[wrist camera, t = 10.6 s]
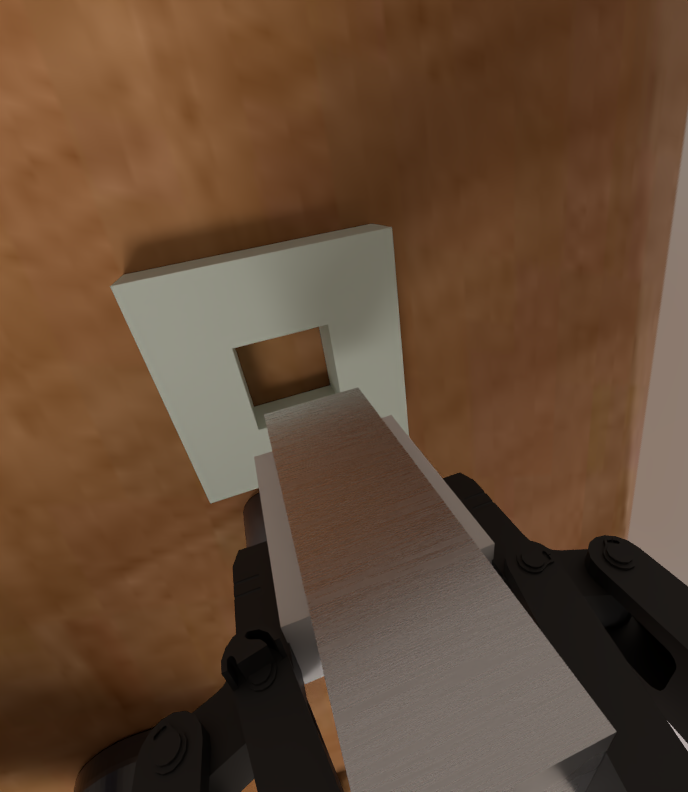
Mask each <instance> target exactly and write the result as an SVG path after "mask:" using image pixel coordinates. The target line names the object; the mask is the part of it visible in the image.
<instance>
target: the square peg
mask: <svg viewBox="0 0 688 792" xmlns="http://www.w3.org/2000/svg"><path fill="white" fill-rule="evenodd" d="M264 417H265V421H266V426H267V430H268V434H269V439H270V443H271V447H272V452H273V456H274V460H275V465H276V469H277V473H278V478H279V482H280V486H281V491H282V495H283V499H284V504H285V508H286V512H287V517H288V521H289V525H290V530H291V534H292V538H293V543H294V547H295V551H296V556H297V560H298V564H299V569H300V573H301V577H302V582H303V586H304V590H305V595H306V599H307V603H308V608H309V612H310V616H311V621H312V625H313V629H314V634H315V638H316V642H317V647H318V651H319V655H320V660H321V664H322V668H323V673H324V677H325V681H326V686H327V690H328V694H329V699H330V703H331V707H332V712H333V716H334V720H335V725H336V729H337V733H338V738H339V742H340V746H341V751H342V755H343V759H344V764H345V768H346V772H347V777H348V781H349V785H350V790H351V792H585V791H586V789H587V787H588V785H589V783H590V782H591V780H592V778H593V776H594V774H595V772H596V770H597V768H598V766H599V764H600V763H601V761H602V759H603V757H604V755H605V753H606V751H607V749H608V747H609V745H610V744H611V742H612V740H613V738H614V736H615V734H616V730H615V729H614V728H613V726H612V725H611V724H610V722H609V721H608V720H607V718H606V717H605V716H604V714H603V713H602V712H601V710H600V709H599V708H598V706H597V705H596V704H595V702H594V701H593V700H592V698H591V697H590V696H589V694H588V693H587V692H586V690H585V689H584V688H583V686H582V685H581V684H580V682H579V681H578V680H577V678H576V677H575V676H574V674H573V673H572V672H571V670H570V669H569V668H568V666H567V665H566V664H565V662H564V661H563V660H562V658H561V657H560V656H559V654H558V653H557V652H556V650H555V649H554V648H553V646H552V645H551V644H550V642H549V641H548V640H547V638H546V637H545V636H544V634H543V633H542V632H541V630H540V629H539V628H538V626H537V625H536V624H535V622H534V621H533V620H532V618H531V617H530V616H529V614H528V613H527V612H526V610H525V609H524V608H523V606H522V605H521V604H520V602H519V601H518V600H517V598H516V597H515V596H514V594H513V593H512V592H511V590H510V589H509V588H508V586H507V585H506V584H505V582H504V581H503V580H502V578H501V577H500V576H499V574H498V573H497V572H496V570H495V569H494V568H493V566H492V565H491V564H490V562H489V561H488V560H487V558H486V557H485V556H484V554H483V553H482V552H481V550H480V549H479V548H478V546H477V545H476V544H475V542H474V541H473V540H472V538H471V537H470V536H469V534H468V533H467V532H466V530H465V529H464V528H463V526H462V525H461V524H460V522H459V521H458V520H457V518H456V517H455V516H454V514H453V513H452V512H451V510H450V509H449V508H448V506H447V505H446V504H445V502H444V501H443V500H442V498H441V497H440V496H439V494H438V493H437V492H436V490H435V489H434V488H433V486H432V485H431V484H430V482H429V481H428V480H427V478H426V477H425V476H424V474H423V473H422V472H421V470H420V469H419V468H418V466H417V465H416V464H415V462H414V461H413V460H412V458H411V457H410V456H409V454H408V453H407V452H406V450H405V449H404V448H403V446H402V445H401V444H400V442H399V441H398V440H397V438H396V437H395V436H394V434H393V433H392V432H391V430H390V429H389V428H388V426H387V425H386V424H385V422H384V421H383V420H382V418H381V417H380V416H379V414H378V413H377V412H376V410H375V409H374V408H373V406H372V405H371V404H370V402H369V401H368V400H367V398H366V397H365V396H364V394H363V393H362V392H361V390H360V389H359V388H358V387H357V388H354V389H350V390H347V391H343V392H340V393H336V394H333V395H329V396H326V397H323V398H319V399H316V400H312V401H309V402H305V403H302V404H298V405H295V406H291V407H288V408H284V409H281V410H277V411H274V412H270V413H267V414H264Z"/></svg>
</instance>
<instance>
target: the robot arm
mask: <svg viewBox="0 0 688 792" xmlns="http://www.w3.org/2000/svg"><path fill="white" fill-rule="evenodd" d="M382 420H383V421H384V422H385V424H386V425H387V426H388V428H389V429H390V430H391V432H392V433H393V434H394V436H395V437H396V438H397V440H398V441H399V442H400V444H401V445H402V446H403V448H404V449H405V450H406V452H407V453H408V454H409V456H410V457H411V458H412V460H413V461H414V462H415V464H416V465H417V466H418V468H419V469H420V470H421V472H422V473H423V474H424V476H425V477H426V478H427V480H428V481H429V482H430V484H431V485H432V486H433V488H434V489H435V490H436V492H437V493H438V494H439V496H440V497H441V498H442V500H443V501H444V502H445V504H446V505H447V506H448V508H449V509H450V510H451V512H452V513H453V514H454V516H455V517H456V518H457V520H458V521H459V522H460V524H461V525H462V526H463V528H464V529H465V530H466V532H467V533H468V534H469V536H470V537H471V538H472V540H473V541H474V542H475V544H476V545H477V546H478V548H479V549H480V550H481V552H482V553H483V554H484V556H485V557H486V558H487V560H488V561H489V562H490V564H491V565H492V566H493V568H494V569H495V570H496V572H497V573H498V574H499V576H500V577H501V578H502V580H503V581H504V582H505V584H506V585H507V586H508V588H509V589H510V590H511V592H512V593H513V594H514V596H515V597H516V598H517V600H518V601H519V602H520V604H521V605H522V606H523V608H524V609H525V610H526V612H527V613H528V614H529V616H530V617H531V618H532V620H533V621H534V622H535V624H536V625H537V626H538V628H539V629H540V630H541V632H542V633H543V634H544V636H545V637H546V638H547V640H548V641H549V642H550V644H551V645H552V646H553V648H554V649H555V650H556V652H557V653H558V654H559V656H560V657H561V658H562V660H563V661H564V662H565V664H566V665H567V666H568V668H569V669H570V670H571V672H572V673H573V674H574V676H575V677H576V678H577V680H578V681H579V682H580V684H581V685H582V686H583V688H584V689H585V690H586V692H587V693H588V694H589V696H590V697H591V698H592V700H593V701H594V702H595V704H596V705H597V706H598V708H599V709H600V710H601V712H602V713H603V714H604V716H605V717H606V718H607V720H608V721H609V722H610V724H611V725H612V726H613V728H614V729H615V730H616V734H615V736H614V738H613V740H612V742H611V744H610V745H609V747H608V749H607V751H606V753H605V755H604V757H603V759H602V761H601V763H600V764H599V766H598V768H597V770H596V772H595V774H594V776H593V778H592V780H591V782H590V783H589V785H588V787H587V789H586V791H585V792H688V751H687V750H686V748H685V747H684V745H683V744H682V742H681V741H680V739H679V738H678V736H677V735H676V734H675V732H674V730H673V729H672V727H671V726H670V724H671V725H672V726H673V727H674V729H676V731H677V732H678V733H679V734H680V735H681V736H682V737H683V739H684V740H685V741H686V742H687V743H688V586H687V585H685V584H684V583H683V582H682V581H680V580H679V579H677V578H676V577H675V576H674V575H673V574H671V573H670V572H669V571H668V570H666V569H665V568H664V567H663V566H661V565H660V564H659V563H658V562H656V561H655V560H654V559H652V558H651V557H650V556H649V555H648V554H646V553H645V552H644V551H642V550H641V549H640V548H639V547H637V546H636V545H634V544H632V543H631V542H629V541H627V540H625V539H622V538H619V537H616V536H606V535H604V536H600V537H596V538H594V539H593V540H592V541H591V542H590V544H589V547H588V549H582V550H563V551H561V550H551V549H549V548H547V547H545V546H543V545H542V544H540V543H537V542H533V541H530V540H529V539H528V538H526V537H525V536H524V535H523V534H522V533H521V531H520V530H519V529H518V528H517V527H516V526H515V525H514V524H513V523H512V522H511V520H510V519H509V518H508V517H507V516H506V515H505V514H504V513H503V512H502V511H501V509H500V508H499V507H498V506H497V505H496V504H495V503H493V502H492V500H491V498H490V497H489V496H488V495H487V494H485V493H484V491H483V490H482V489H481V487H480V486H479V485H478V484H477V483H476V482H475V481H474V480H473V479H471V478H469V477H467V476H465V475H463V474H462V473H457V474H454V475H451V476H448V477H446V478H443V479H442V477H441V476H440V475H439V474H438V472H437V471H436V470H435V469H434V467H433V466H432V465H431V464H430V462H429V461H428V460H427V459H426V457H425V456H424V455H423V454H422V452H421V451H420V450H419V449H418V447H417V446H416V445H415V444H414V442H413V441H412V440H411V439H410V438H409V436H408V435H407V434H406V433H405V431H404V430H403V429H402V428H401V426H400V425H399V424H398V423H397V421H396V420H395V419H394V418H393V416H392V415H389V416H386V417H383V418H382ZM254 460H255V466H256V473H257V479H258V486H259V492H260V498H261V505H262V511H263V518H264V524H265V530H266V537H267V541H265V542H262V543H259V544H256V545H253V546H250V547H247V548H244V549H242V550H239V551H238V554H237V556H236V559H235V562H234V565H233V582H234V597H235V600H234V601H235V620H236V635H235V636H234V637H233V638H232V639H231V641H230V642H229V644H228V645H227V647H226V648H225V651H224V654H223V657H222V660H221V671H222V675H223V677H224V678H225V680H226V683H225V684H224V686H223V687H222V688H221V689H220V690H219V691H218V692H217V693H216V694H215V695H214V696H212V697H211V698H210V699H209V700H208V701H206V702H205V703H204V704H203V705H201V706H200V707H199V708H198V709H197V710H195V711H194V712H193V713H192V714H191V713H189V712H187V711H182V712H175V713H172V714H171V715H169V716H167V717H165V718H164V719H162V720H161V721H160V722H159V723H158V724H157V725H156V726H155V727H154V728H153V729H152V730H149V731H146V732H143V733H140V734H137V735H134V736H132V737H129V738H127V739H124V740H122V741H120V742H118V743H116V744H114V745H112V746H110V747H109V748H107V749H105V750H104V751H102V752H101V753H99V754H98V755H96V756H95V757H94V758H93V759H91V760H90V761H89V762H88V763H87V764H86V765H85V766H84V767H83V769H82V770H81V771H80V773H79V775H78V777H77V779H76V783H75V787H74V792H241V791H242V790H243V789H244V788H245V787H246V786H247V785H248V784H249V783H250V782H251V781H252V780H253V779H255V783H256V787H257V791H258V792H344V791H343V789H342V786H341V784H340V781H339V779H338V776H337V774H336V771H335V768H334V766H333V763H332V761H331V758H330V756H329V753H328V751H327V748H326V746H325V743H324V740H323V738H322V735H321V733H320V730H319V728H318V725H317V723H316V720H315V718H314V715H313V712H312V710H311V707H310V705H309V703H308V700H307V697H306V692H305V687H304V683H305V684H307V683H309V682H311V681H314V680H316V679H318V678H321V677H323V676H324V673H323V668H322V664H321V660H320V655H319V651H318V647H317V642H316V638H315V634H314V629H313V625H312V621H311V616H310V612H309V608H308V603H307V599H306V595H305V590H304V586H303V582H302V577H301V573H300V569H299V564H298V560H297V556H296V551H295V547H294V543H293V538H292V534H291V530H290V525H289V521H288V517H287V512H286V508H285V504H284V499H283V495H282V491H281V486H280V482H279V478H278V473H277V469H276V465H275V460H274V456H273V452H272V451H271V452H268V453H265V454H262V455H258V456H255V457H254ZM303 680H304V681H303ZM667 721H668V722H669V723H670V724H669V723H668V722H667Z"/></svg>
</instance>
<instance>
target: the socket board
mask: <svg viewBox="0 0 688 792" xmlns="http://www.w3.org/2000/svg"><path fill="white" fill-rule="evenodd" d="M110 287H111V289H112V291H113V294H114V296H115V298H116V300H117V302H118V304H119V307H120V309H121V311H122V313H123V315H124V317H125V320H126V322H127V324H128V326H129V328H130V330H131V333H132V335H133V337H134V339H135V341H136V344H137V346H138V348H139V350H140V352H141V354H142V357H143V359H144V361H145V363H146V365H147V367H148V370H149V372H150V374H151V376H152V378H153V380H154V383H155V385H156V387H157V389H158V391H159V393H160V396H161V398H162V400H163V402H164V404H165V406H166V409H167V411H168V413H169V415H170V417H171V419H172V422H173V424H174V426H175V428H176V430H177V432H178V435H179V437H180V439H181V441H182V443H183V445H184V448H185V450H186V452H187V454H188V456H189V458H190V461H191V463H192V465H193V467H194V469H195V471H196V474H197V476H198V478H199V480H200V482H201V484H202V487H203V489H204V491H205V493H206V495H207V497H208V500H209V502H210V504H211V503H214V502H217V501H220V500H223V499H226V498H229V497H232V496H235V495H238V494H241V493H245V492H248V491H251V490H254V489H257V488H259V486H258V479H257V473H256V466H255V460H254V457H255V456H258V455H262V454H265V453H268V452H271V451H272V447H271V443H270V439H269V434H268V430H267V426H266V421H265V417H264V414H267V413H270V412H274V411H277V410H281V409H284V408H288V407H291V406H295V405H298V404H302V403H305V402H309V401H312V400H316V399H319V398H323V397H326V396H329V395H333V394H336V393H340V392H343V391H347V390H350V389H354V388H357V387H358V388H359V389H360V390H361V392H362V393H363V394H364V396H365V397H366V398H367V400H368V401H369V402H370V404H371V405H372V406H373V408H374V409H375V410H376V412H377V413H378V414H379V416H380V417H381V418H383V417H386V416H389V415H392V416H393V418H394V419H395V420H396V421H397V423H398V424H399V425H400V426H401V428H402V429H403V430H404V431H405V433H406V434H407V435H408V436H409V430H408V418H407V406H406V393H405V381H404V369H403V356H402V344H401V332H400V319H399V307H398V295H397V282H396V270H395V258H394V245H393V233H392V227H388V226H383V225H377V224H367V225H362V226H357V227H353V228H348V229H343V230H338V231H333V232H328V233H323V234H319V235H314V236H309V237H304V238H299V239H294V240H289V241H285V242H280V243H275V244H270V245H265V246H260V247H256V248H251V249H246V250H241V251H236V252H231V253H226V254H222V255H217V256H212V257H207V258H202V259H197V260H192V261H188V262H183V263H178V264H173V265H168V266H163V267H158V268H154V269H149V270H144V271H139V272H134V273H129V274H124V275H122V276H121V277H120V278H119V279H118V280H117V281H116V282H114V283H113V284H112V285H111V286H110ZM316 327H319V330H320V335H321V340H322V345H323V350H324V356H325V361H326V366H327V371H328V376H329V381H330V385H329V386H326V387H322V388H318V389H315V390H311V391H308V392H304V393H301V394H297V395H294V396H290V397H287V398H283V399H280V400H276V401H273V402H269V403H266V404H262V405H259V406H255V407H254V405H253V402H252V399H251V396H250V393H249V390H248V387H247V383H246V380H245V377H244V374H243V371H242V368H241V365H240V362H239V359H238V356H237V352H236V349H235V348H237V347H241V346H244V345H248V344H252V343H256V342H260V341H264V340H268V339H272V338H276V337H280V336H284V335H288V334H292V333H296V332H300V331H304V330H308V329H312V328H316Z"/></svg>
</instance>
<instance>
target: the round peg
mask: <svg viewBox="0 0 688 792" xmlns="http://www.w3.org/2000/svg"><path fill="white" fill-rule="evenodd" d="M243 515H244V525H245V535H246V545H247V547H250V546H253V545H256V544H259V543H262V542H265V541H267V537H266V530H265V524H264V518H263V511H262V505H261V498H260V493H258V494H256V495H255V496H253V497H252V498H251V499H250V500H249V501H248V502H247V503H246V505H245V507H244V511H243Z"/></svg>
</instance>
